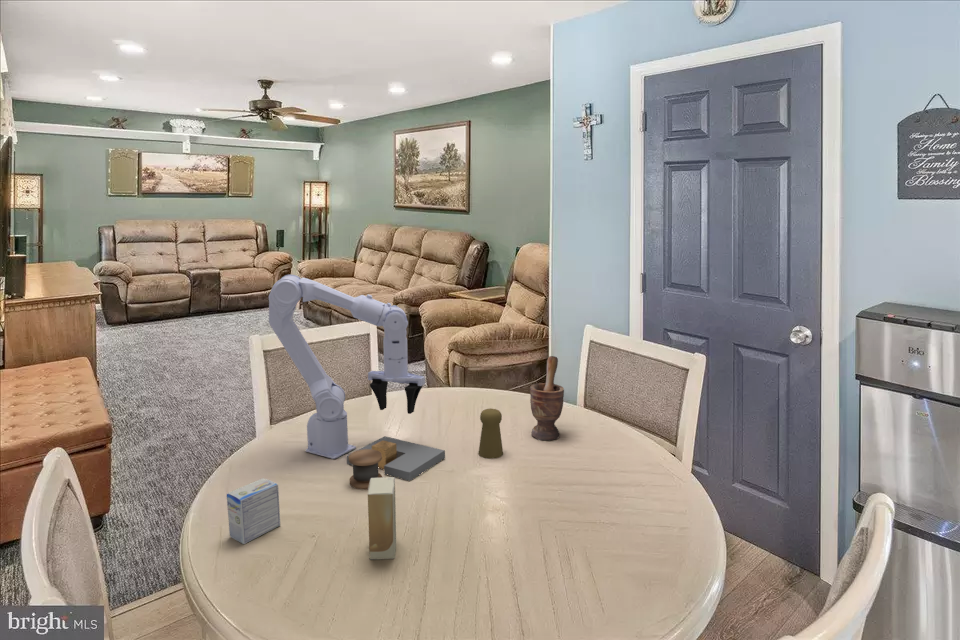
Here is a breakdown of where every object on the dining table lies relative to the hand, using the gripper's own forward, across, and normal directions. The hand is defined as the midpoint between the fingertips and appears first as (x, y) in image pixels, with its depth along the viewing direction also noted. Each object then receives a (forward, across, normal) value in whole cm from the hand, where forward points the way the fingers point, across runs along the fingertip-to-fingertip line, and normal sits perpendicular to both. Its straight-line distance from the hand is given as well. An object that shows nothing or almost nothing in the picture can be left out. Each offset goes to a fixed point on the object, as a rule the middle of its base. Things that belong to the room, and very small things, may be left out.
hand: (396, 410), depth 148 cm
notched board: (+9, +4, -8) cm, 13 cm away
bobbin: (+9, +3, -20) cm, 22 cm away
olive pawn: (+10, +23, +4) cm, 25 cm away
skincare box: (+10, +19, -42) cm, 47 cm away
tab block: (+10, +2, -11) cm, 14 cm away
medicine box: (+10, -6, -45) cm, 46 cm away
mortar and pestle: (+10, +32, +22) cm, 40 cm away
